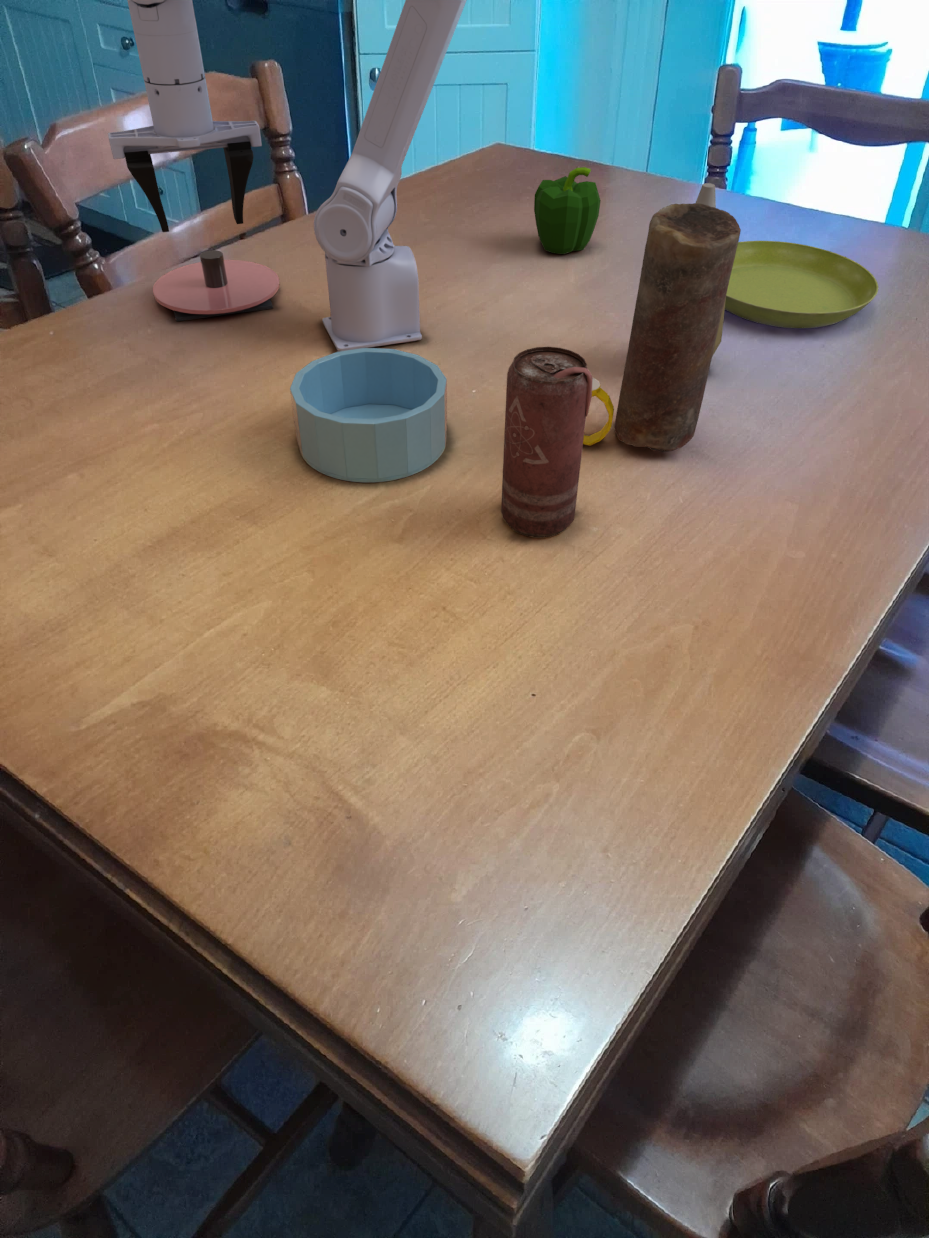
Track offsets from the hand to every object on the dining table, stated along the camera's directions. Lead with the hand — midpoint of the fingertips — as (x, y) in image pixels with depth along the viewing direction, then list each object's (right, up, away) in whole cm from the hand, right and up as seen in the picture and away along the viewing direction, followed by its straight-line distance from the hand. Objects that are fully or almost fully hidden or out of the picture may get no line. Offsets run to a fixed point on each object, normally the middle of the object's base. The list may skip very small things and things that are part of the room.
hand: (202, 225), depth 95 cm
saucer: (+65, -4, +12) cm, 67 cm away
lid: (-1, -3, +11) cm, 11 cm away
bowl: (+19, -25, -12) cm, 34 cm away
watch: (+38, -25, -11) cm, 47 cm away
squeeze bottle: (+50, -15, 0) cm, 52 cm away
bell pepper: (+41, +7, +24) cm, 48 cm away
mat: (-1, -3, +12) cm, 12 cm away
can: (+34, -34, -20) cm, 52 cm away
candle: (+46, -25, -11) cm, 53 cm away
